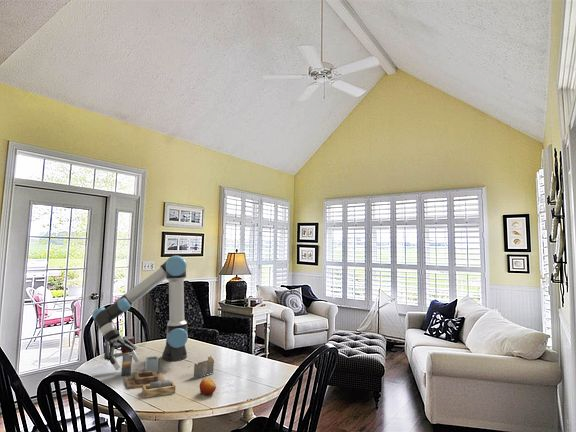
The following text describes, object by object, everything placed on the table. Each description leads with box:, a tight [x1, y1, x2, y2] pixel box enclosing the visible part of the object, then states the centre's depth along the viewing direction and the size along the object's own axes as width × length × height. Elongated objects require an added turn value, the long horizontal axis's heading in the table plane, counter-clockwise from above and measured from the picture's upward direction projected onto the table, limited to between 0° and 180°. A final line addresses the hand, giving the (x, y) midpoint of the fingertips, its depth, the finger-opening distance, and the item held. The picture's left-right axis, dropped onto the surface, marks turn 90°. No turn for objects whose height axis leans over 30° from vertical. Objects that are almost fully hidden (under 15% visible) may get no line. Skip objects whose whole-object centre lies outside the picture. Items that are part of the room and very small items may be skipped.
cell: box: [120, 352, 133, 377], centre depth 192 cm, size 5×5×12 cm
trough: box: [141, 379, 176, 398], centre depth 170 cm, size 14×7×5 cm, turn 119°
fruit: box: [199, 377, 217, 396], centre depth 172 cm, size 8×8×8 cm
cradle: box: [124, 370, 166, 390], centre depth 183 cm, size 18×14×4 cm
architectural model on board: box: [193, 355, 215, 379], centre depth 196 cm, size 11×3×10 cm, turn 141°
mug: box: [115, 335, 135, 355], centre depth 228 cm, size 11×8×10 cm
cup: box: [144, 355, 159, 373], centre depth 199 cm, size 6×6×7 cm
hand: (128, 364), depth 191 cm, fingers open, 13 cm apart
